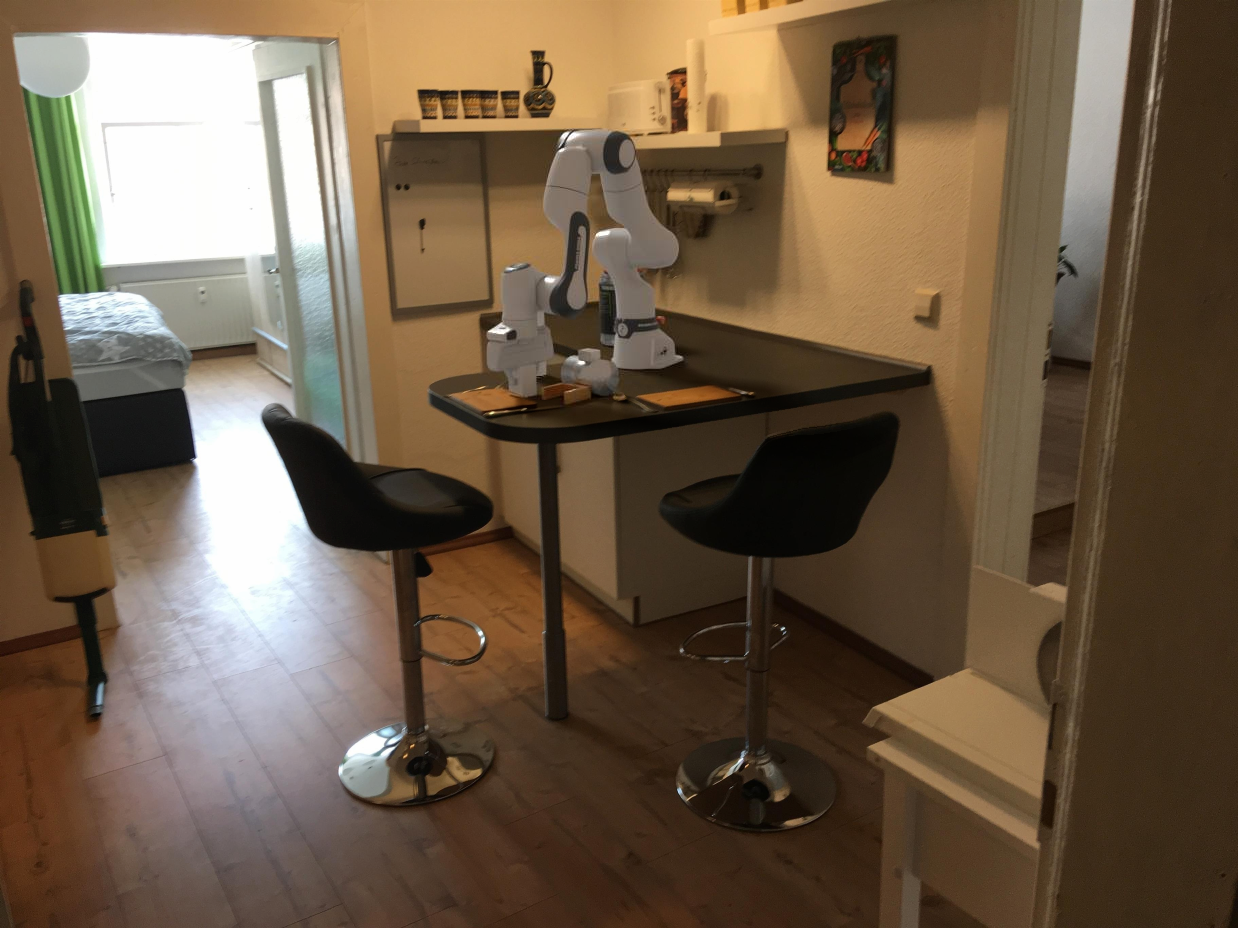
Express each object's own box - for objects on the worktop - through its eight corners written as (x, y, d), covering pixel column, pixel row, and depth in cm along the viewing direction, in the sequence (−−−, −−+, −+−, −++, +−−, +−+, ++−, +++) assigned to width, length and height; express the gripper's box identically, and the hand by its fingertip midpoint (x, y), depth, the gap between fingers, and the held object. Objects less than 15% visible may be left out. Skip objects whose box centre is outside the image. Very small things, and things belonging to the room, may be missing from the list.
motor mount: (585, 386, 266) (584, 345, 263) (619, 392, 258) (618, 350, 255) (537, 398, 253) (536, 355, 250) (571, 405, 246) (570, 360, 242)
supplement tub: (656, 345, 324) (656, 263, 316) (612, 349, 317) (611, 266, 310) (634, 337, 337) (633, 259, 330) (592, 342, 331) (590, 262, 323)
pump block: (523, 392, 261) (522, 361, 259) (536, 394, 258) (535, 364, 255) (509, 395, 257) (507, 364, 255) (522, 398, 254) (521, 367, 252)
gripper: (541, 323, 262) (543, 374, 266) (481, 333, 248) (484, 388, 252) (558, 325, 258) (560, 377, 262) (498, 336, 243) (501, 391, 248)
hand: (522, 383), depth 257 cm, fingers open, 5 cm apart
